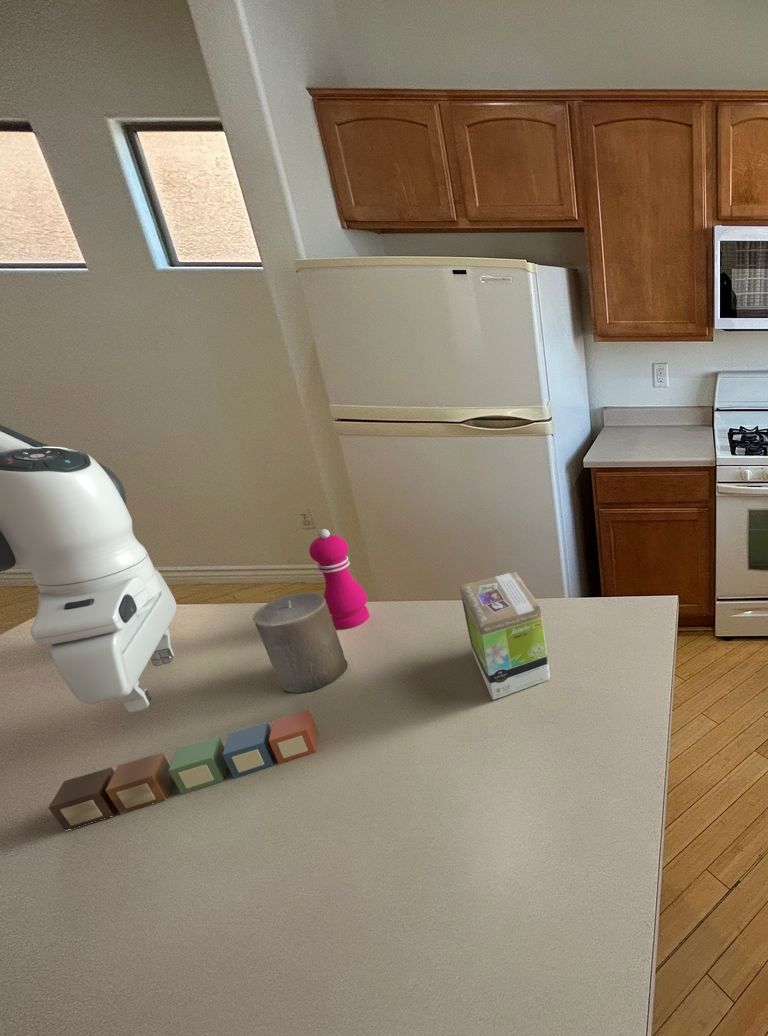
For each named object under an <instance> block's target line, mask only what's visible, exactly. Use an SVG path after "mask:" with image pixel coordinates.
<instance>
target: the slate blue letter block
mask: <svg viewBox="0 0 768 1036" xmlns="http://www.w3.org/2000/svg"><path fill="white" fill-rule="evenodd" d="M270 733H271V727H270V724H269V722H268V721H267V722H263V723H259V724H256V725H252V726H250V727H246V728H243V729H239V730H236V731H232V732H229V733H228V735H227V739H226V742H225V745H224V747H225V748H224V751H223V754H222V755H223V757H224V759H225V761H226V763H227V765H228V767H227V768H228V770H229V771H230V774H231V775H232V777H233V779H236V778H239V777H242V776H246V775H249V774H252V773H255V772H258V771H262V770H265V769H267V768H270V767H273V766H274V764H275V759H276V757H275V754H274V752H273V750H272V748H271V745H270V743H269V737H270Z"/></svg>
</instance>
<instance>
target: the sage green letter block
mask: <svg viewBox="0 0 768 1036" xmlns="http://www.w3.org/2000/svg"><path fill="white" fill-rule="evenodd" d="M224 748H225V745H224V743H223V741H222V740H221V737H220V736H219V735H217V736H213V737H210V738H206V739H203V740H199V741H196V742H192V743H189V744H186V745H183V746H179V747H177V749H176V751H175V753H174V756H173V759H172V760H171V763H170V764H169V765H170V768H169V770H168V771H169V773H170V774H171V776H172V778H173V780H174V781H173V783H174V784H175V785H176V787H177V789H178V790H179V793H180V794H181V795H184V794H188V793H190V792H194V791H197V790H199V789H203V788H206V787H208V786H209V787H210V786H212V785H215V784H218V783H221V782H224V780H225V778H226V777H225V776H226V773H227V770H228V768H229V767H228V765H227V763H226V761H225V759H224V757H223V755H222V754H223V751H224ZM183 793H184V794H183Z"/></svg>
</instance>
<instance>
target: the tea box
mask: <svg viewBox="0 0 768 1036" xmlns="http://www.w3.org/2000/svg"><path fill="white" fill-rule="evenodd" d="M459 590H460V596H461V598H460V599H461V602H462V607H463V611H464V616H465V621H466V628H467V632H468V637H469V643H470V647H471V651H472V654H473V656H474V659H475V661H476V664H477V666H478V669H479V671H480V673H481V676H482V679H483V680H484V681H483V682H485V685H486V688H487V690H488V692H489V695H490V697H491V699H492V700H493V701H494V700H496V699H500V698H503V697H506V696H509V695H511V694H514V693H517V692H520V691H523V690H526V689H528V688H530V687H533V686H535V685H536V686H537V685H538V684H542V683H544V682H546V681H549V680H550V678H551V674H550V666H549V660H548V651H547V645H546V635H545V629H544V620H543V619H544V618H543V614H542V608H541V606H540V605H539V603H538V601H537V600H536V598H535V597H534V595H533V594H532V592H531V591H530V590H529V589H528V587H527V586H526V584H525V583H524V581H523V580H522V579H521V577H520V576H519V574H518V573H517V571H512V572H507V573H504V574H501V575H500V574H499V575H496V576H492V577H488V578H485V579H480V580H476V581H473V582H469V583H465V584H461V585H459Z"/></svg>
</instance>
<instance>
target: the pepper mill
mask: <svg viewBox="0 0 768 1036" xmlns="http://www.w3.org/2000/svg"><path fill="white" fill-rule="evenodd" d="M317 535H318V537H317V538H315V539H314V540H313V541H312V542H311V543H310V545H309V548H308V552H309V557H310V558H311V559H312V560H313V561H314V562H316V566H317V569H318V572H320V573H322V575H323V577H324V582H325V588H324V593H323V595H322V596H323V597H324V598H325V600H326V603H327V606H328V608H329V611H330V614H331V617H332V620H333V624H334V626H335V629H340V630H347V629H351V628H354V627H357V626H360V625H362V624H363V623H365V622H366V621H368V619H369V617H370V612H369V609H368V606H366V604H367V602H368V595H367V594H366V591H365V590H364V589H363V586H361V585H360V584H359V583H358V582H357V581H356V580H355V579H354V578H353V576H352V575H351V572H350V570H349V565H350V564H351V562H350V560H349V556H347V554H348V553H349V545H348V543H347V541H346V540H345V539H344V538H343V537H341V536H339V535H336V534H331V532H330V531H329V530H328V529H327V528H322V529H320V530H319V531H318V533H317Z"/></svg>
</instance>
